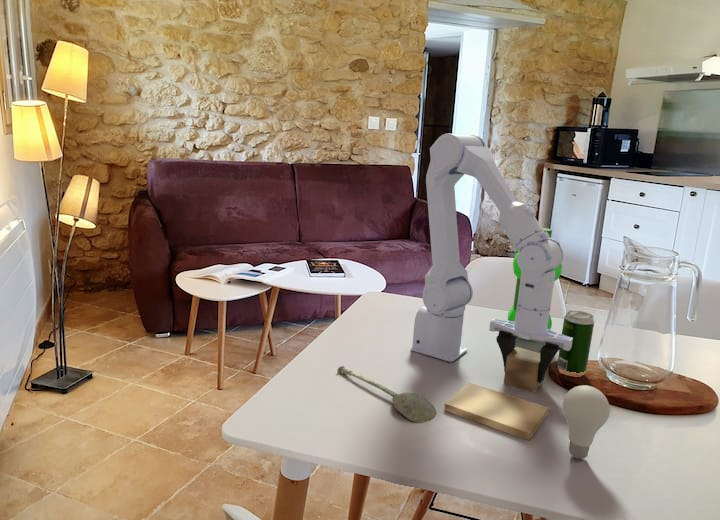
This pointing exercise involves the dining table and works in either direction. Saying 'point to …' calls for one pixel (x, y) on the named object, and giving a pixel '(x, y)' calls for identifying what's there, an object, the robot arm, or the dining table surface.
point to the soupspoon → (403, 401)
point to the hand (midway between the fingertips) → (523, 375)
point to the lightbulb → (584, 417)
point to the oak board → (497, 410)
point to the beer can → (576, 341)
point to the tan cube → (522, 369)
